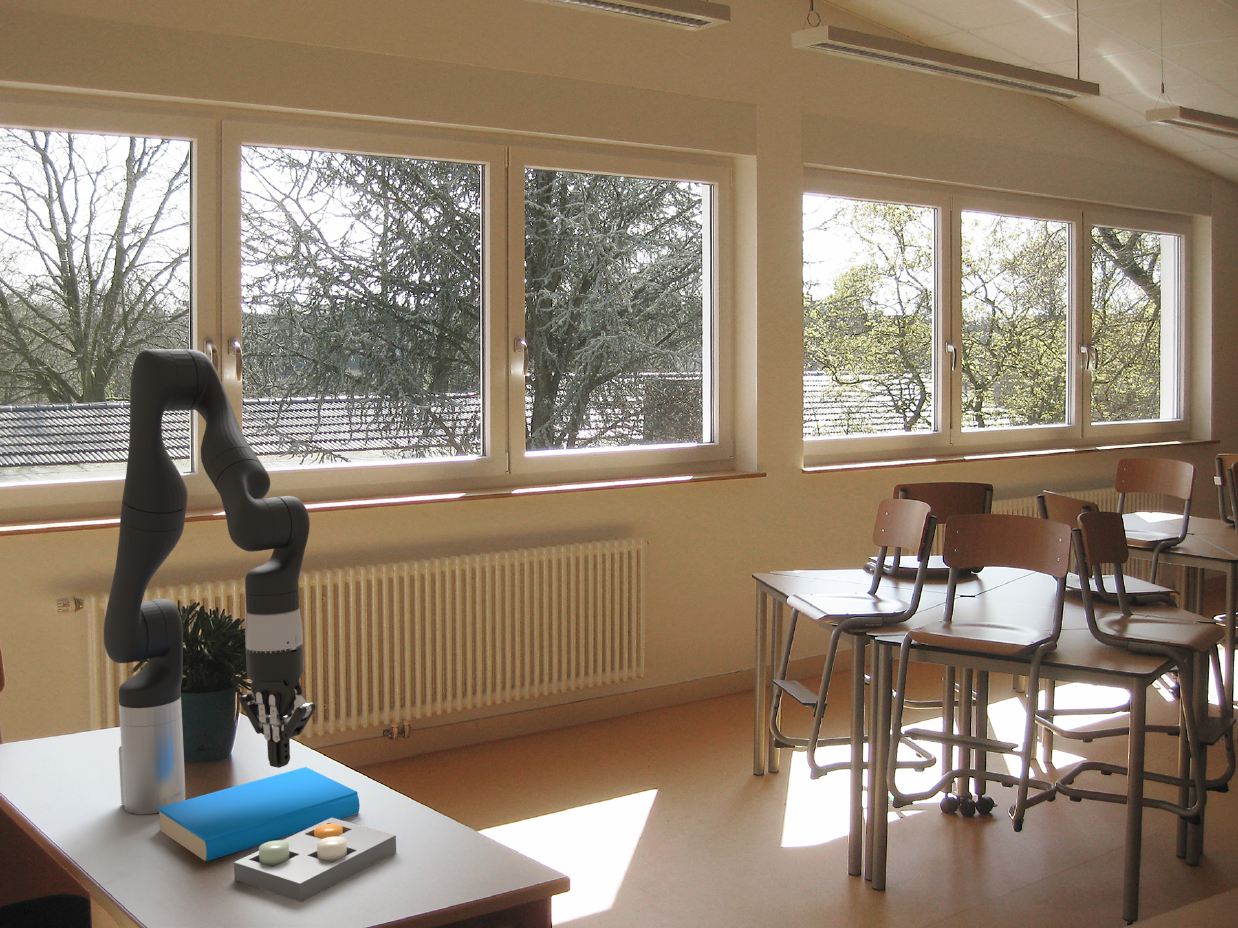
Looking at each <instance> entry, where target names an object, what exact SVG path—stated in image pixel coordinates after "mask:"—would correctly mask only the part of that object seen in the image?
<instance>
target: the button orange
mask: <svg viewBox="0 0 1238 928" xmlns="http://www.w3.org/2000/svg"><path fill="white" fill-rule="evenodd" d="M341 834H343V830H342V826H341V825H339V824H324V825H321V826H318V827H316V828H315V829H314V837H316V838H320V839H324V838H327V837H337V836H339V835H341Z"/></svg>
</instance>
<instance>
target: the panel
mask: <svg viewBox="0 0 1238 928" xmlns="http://www.w3.org/2000/svg"><path fill="white" fill-rule="evenodd" d="M324 824H339V825H341V826H342V830H343V834H341V835H339V836H337V837H343V838H345V839H346V841H347V856H345V857H343V858H341V859H339V860H337V861H335V862H333V863H330V862H327V861H323V860H320V859H317V843H318V841H320V840H322V839H320V838H316V837H314V829H315V828H316V827H318V826H321V825H324ZM280 840H281V841H286V842H288V843H289V857H290V859H289V860H287V861H284V862H282V863H280V864H278V865H276V866H274V867H271V866H267V865H264V864H261V863H259V850H258V851H255V852H254V853H253V852H252V853H251V854H249V855H247V856H245V857H242V858H240V859H238V860H236V861H234V862H233V870H234V872H233V873H234V880H235V881H237V882H240V883H243V884H247V885H248V886H253V887H255V888H258V889H261V890H265V891H267V892H271V893H273V894H276V895H278V896H279V895H280V896H282V897H285V898H287V899H291V900H293V901H297V902H303V901H306V900H307V899H309V898H311V897H313V896H315V895H317V894H318V893H321V892H323V891H324V890H326V889H329V888H330V887H332V886H334V885H336V884H338V883H341V882H342V881H344V880H345V879H347V878H349V877H351V876H353V875H355V874H357V873H359V872H361V871H363V870H365V869H366V868H368V867H370V866H372V865H374V864H376V863H378V862H380V861H382V860H384V859H387V858H388V857H390V856H391V855H393V854H396V852H397V835H396V834H393V833H389V832H386V831H382V830H378V829H375V828H371V827H368V826H364V825H360V824H356V823H353V822H349V821H345V820H342V819H335V818H330V819H328V820H325V821H323V822H321V823H319V824H317V825H314V826H312V827H310V828H308V829H306V830H303V831H301V832H298V833H295V834H291V835H289V836H287V837H285V838H284V839H280Z"/></svg>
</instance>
